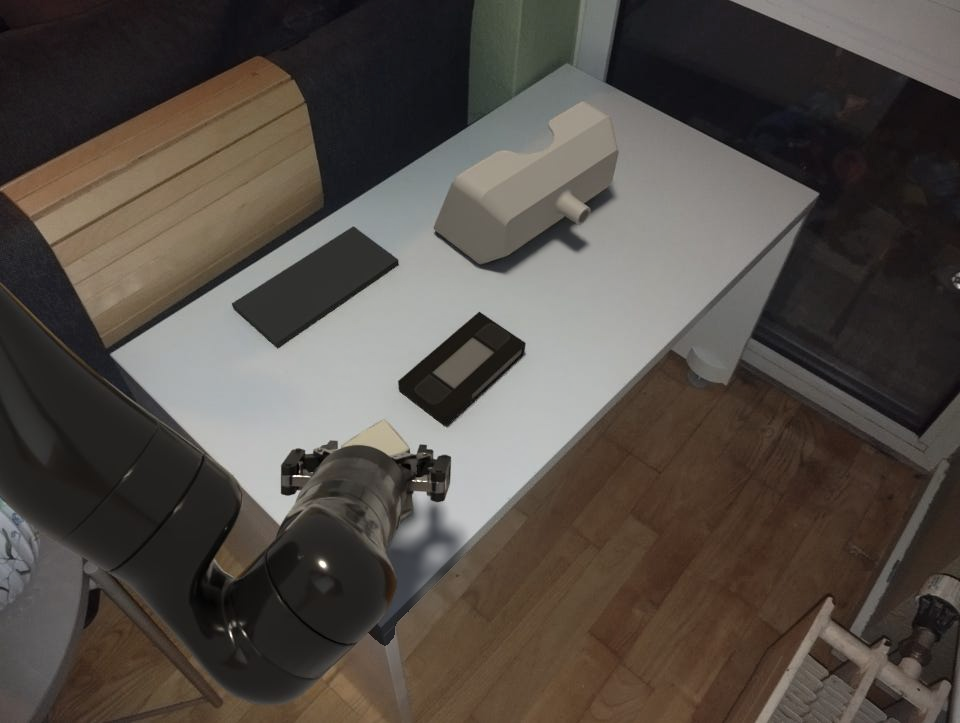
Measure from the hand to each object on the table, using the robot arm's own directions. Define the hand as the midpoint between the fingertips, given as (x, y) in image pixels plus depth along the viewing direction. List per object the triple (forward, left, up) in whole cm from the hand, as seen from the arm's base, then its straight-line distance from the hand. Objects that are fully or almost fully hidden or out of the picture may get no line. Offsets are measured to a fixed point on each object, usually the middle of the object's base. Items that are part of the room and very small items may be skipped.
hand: (378, 452), depth 73 cm
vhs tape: (+8, +17, -10) cm, 21 cm away
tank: (+17, +44, -10) cm, 48 cm away
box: (0, -1, -10) cm, 10 cm away
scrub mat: (-12, +30, -10) cm, 34 cm away
